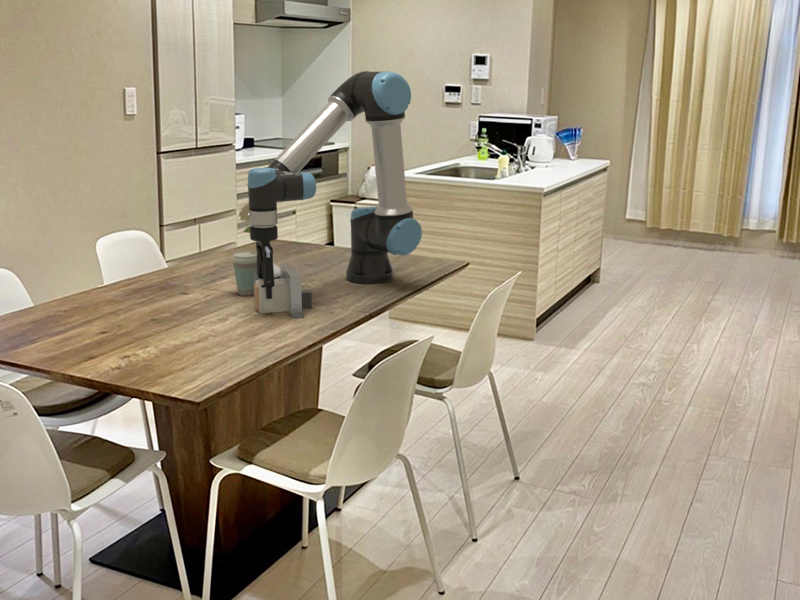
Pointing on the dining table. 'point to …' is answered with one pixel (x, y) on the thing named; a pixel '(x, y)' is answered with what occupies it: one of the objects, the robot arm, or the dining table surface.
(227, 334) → the dining table surface
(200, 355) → the dining table surface
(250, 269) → the coffee cup
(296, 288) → the bar
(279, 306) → the plug
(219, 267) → the dining table surface
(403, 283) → the dining table surface
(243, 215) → the flower in vase
